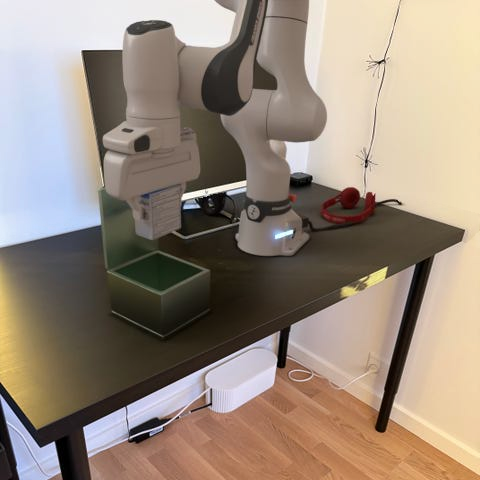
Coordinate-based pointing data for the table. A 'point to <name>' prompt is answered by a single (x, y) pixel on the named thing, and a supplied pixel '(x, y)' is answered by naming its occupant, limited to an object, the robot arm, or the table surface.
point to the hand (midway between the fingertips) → (158, 212)
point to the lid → (120, 232)
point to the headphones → (349, 206)
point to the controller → (217, 201)
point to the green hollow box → (159, 293)
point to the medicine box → (160, 213)
